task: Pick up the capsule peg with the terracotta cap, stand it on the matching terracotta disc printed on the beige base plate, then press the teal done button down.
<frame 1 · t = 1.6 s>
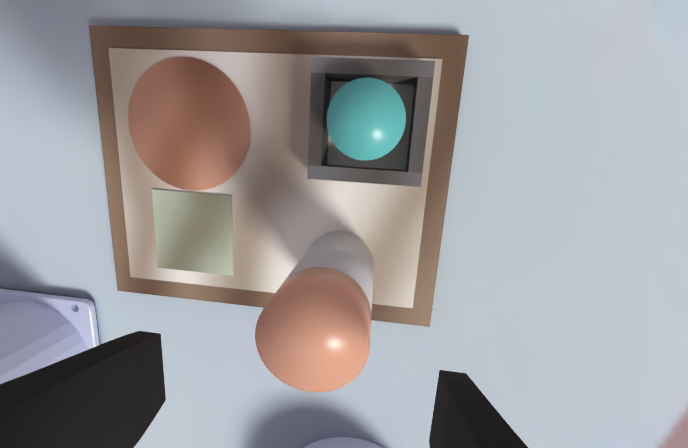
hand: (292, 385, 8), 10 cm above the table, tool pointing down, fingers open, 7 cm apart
beige base plate: (270, 181, 17), on the table
done button: (366, 122, 13), point 3 cm above the table, slide at 0.0 cm
capsule peg: (339, 264, 17), point 1 cm above the table, touching beige base plate
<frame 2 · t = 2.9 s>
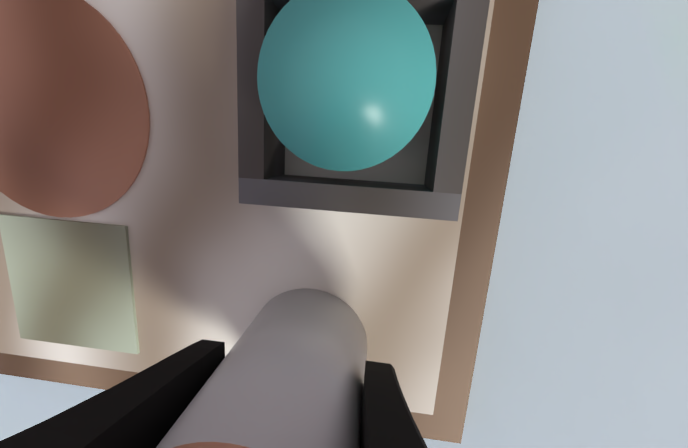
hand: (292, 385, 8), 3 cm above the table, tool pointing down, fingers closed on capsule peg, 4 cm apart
beige base plate: (195, 201, 10), on the table
done button: (349, 91, 6), point 3 cm above the table, slide at 0.0 cm
capsule peg: (309, 342, 10), point 1 cm above the table, touching beige base plate, gripper
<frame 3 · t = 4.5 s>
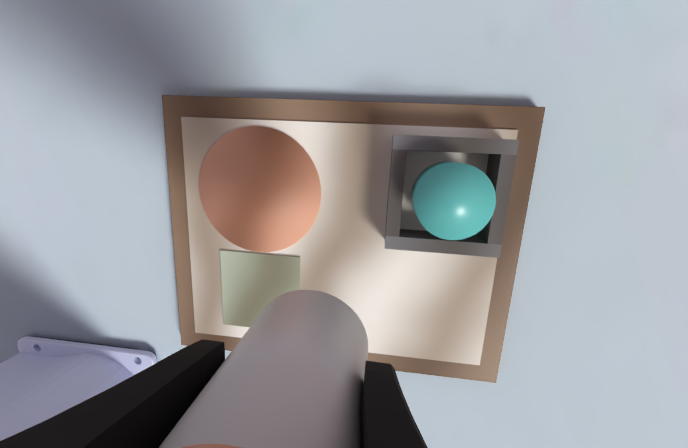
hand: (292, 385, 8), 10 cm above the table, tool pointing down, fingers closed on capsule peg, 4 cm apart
beige base plate: (336, 241, 17), on the table
done button: (449, 198, 13), point 3 cm above the table, slide at 0.0 cm
capsule peg: (310, 343, 10), point 8 cm above the table, touching gripper
when the fingers open (4 cm above the table, at t = 6.3 s): capsule peg stays where it is, resting on beige base plate.
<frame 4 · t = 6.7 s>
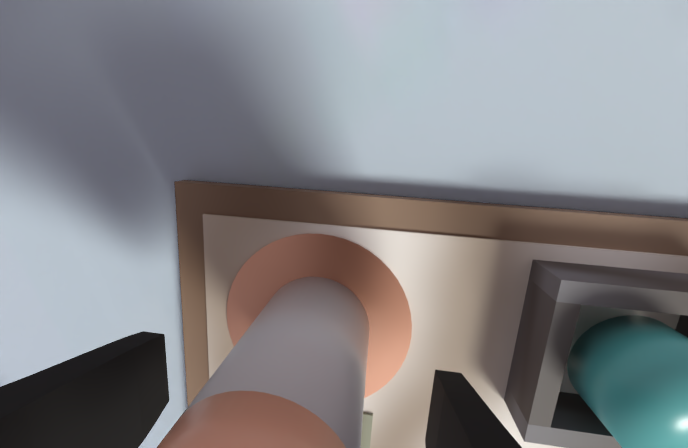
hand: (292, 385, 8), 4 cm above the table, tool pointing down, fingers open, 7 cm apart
beige base plate: (424, 387, 12), on the table
done button: (654, 389, 8), point 3 cm above the table, slide at 0.0 cm
capsule peg: (316, 326, 11), point 1 cm above the table, touching beige base plate
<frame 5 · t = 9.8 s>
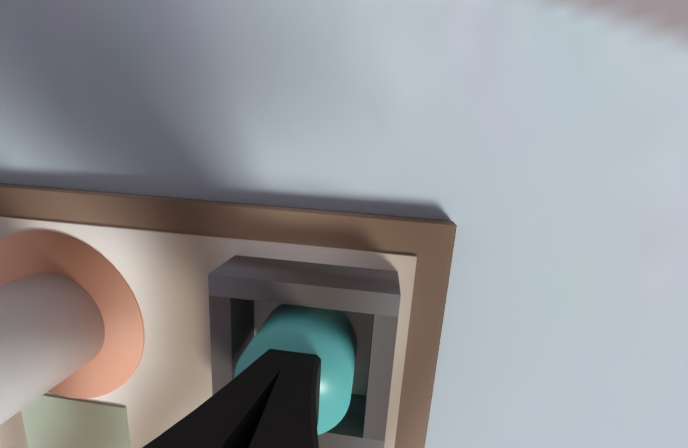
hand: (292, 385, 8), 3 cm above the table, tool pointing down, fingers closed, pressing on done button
beige base plate: (182, 381, 12), on the table
done button: (301, 362, 9), point 2 cm above the table, slide at 0.7 cm, touching gripper
capsule peg: (57, 320, 11), point 1 cm above the table, touching beige base plate
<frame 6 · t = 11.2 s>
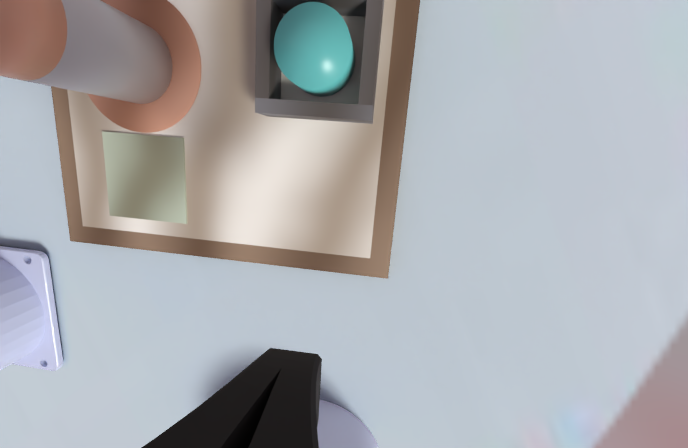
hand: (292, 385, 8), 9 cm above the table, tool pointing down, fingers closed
beige base plate: (225, 124, 16), on the table
done button: (317, 53, 13), point 2 cm above the table, slide at 0.7 cm
capsule peg: (137, 64, 15), point 1 cm above the table, touching beige base plate
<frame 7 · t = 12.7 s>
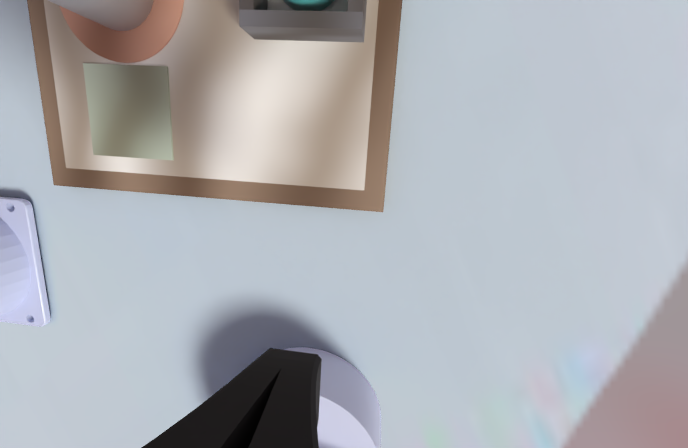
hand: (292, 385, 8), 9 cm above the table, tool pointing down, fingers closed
wedge on round base: (314, 436, 20), on the table
beige base plate: (210, 54, 16), on the table
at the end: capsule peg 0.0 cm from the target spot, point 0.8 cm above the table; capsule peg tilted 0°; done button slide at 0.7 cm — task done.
